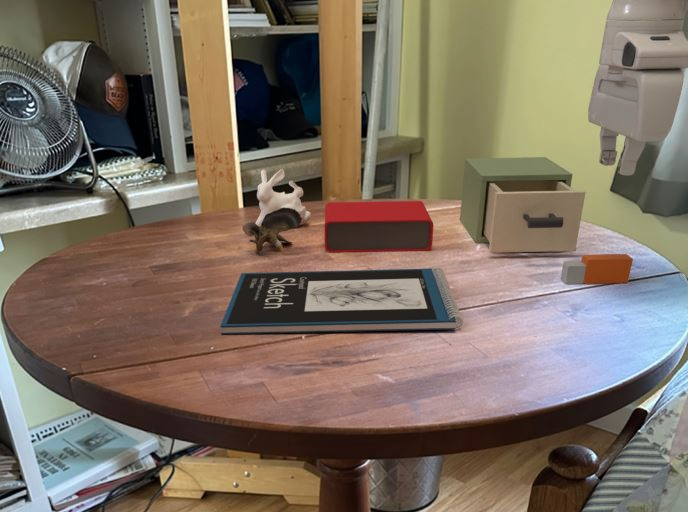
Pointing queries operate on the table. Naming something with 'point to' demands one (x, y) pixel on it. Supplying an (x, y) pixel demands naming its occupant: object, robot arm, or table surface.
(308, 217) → the rabbit figurine
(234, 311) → the sketchbook
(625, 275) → the orange and grey block
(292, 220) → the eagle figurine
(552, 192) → the drawer
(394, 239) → the red device housing
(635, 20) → the robot arm
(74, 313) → the table surface
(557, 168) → the cabinet
